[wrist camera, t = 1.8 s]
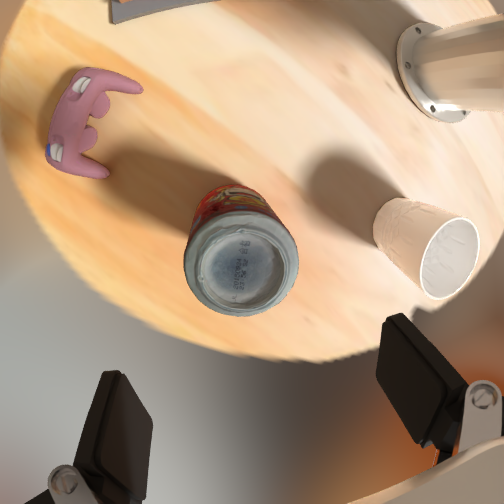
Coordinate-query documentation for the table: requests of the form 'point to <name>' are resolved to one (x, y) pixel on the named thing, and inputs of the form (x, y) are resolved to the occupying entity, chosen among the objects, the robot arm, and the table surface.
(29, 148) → the table surface
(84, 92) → the video game controller
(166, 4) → the cradle jig
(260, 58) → the table surface
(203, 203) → the soda can
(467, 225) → the white cup
